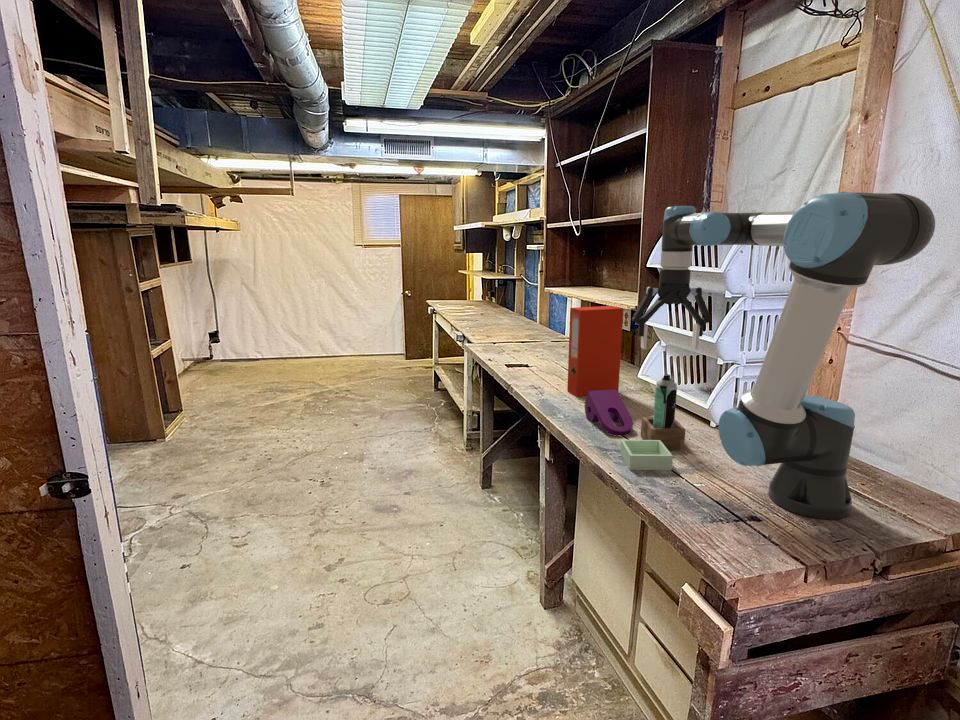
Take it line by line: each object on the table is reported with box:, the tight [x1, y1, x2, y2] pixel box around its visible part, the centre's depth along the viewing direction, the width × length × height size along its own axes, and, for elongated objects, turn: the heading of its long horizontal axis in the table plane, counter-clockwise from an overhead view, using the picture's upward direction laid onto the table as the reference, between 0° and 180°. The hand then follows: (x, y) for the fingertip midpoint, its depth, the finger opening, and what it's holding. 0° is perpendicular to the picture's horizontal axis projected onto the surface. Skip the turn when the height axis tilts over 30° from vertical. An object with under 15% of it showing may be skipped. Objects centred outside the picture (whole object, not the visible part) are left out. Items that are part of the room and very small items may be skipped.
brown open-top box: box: [640, 414, 686, 451], centre depth 145 cm, size 12×9×6 cm
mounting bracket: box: [584, 389, 634, 437], centre depth 159 cm, size 9×8×18 cm
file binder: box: [566, 305, 624, 398], centre depth 190 cm, size 8×17×32 cm, turn 108°
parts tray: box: [619, 439, 674, 471], centre depth 132 cm, size 10×10×4 cm
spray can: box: [653, 374, 678, 428], centre depth 142 cm, size 6×6×20 cm
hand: (668, 348), depth 138 cm, fingers open, 13 cm apart
